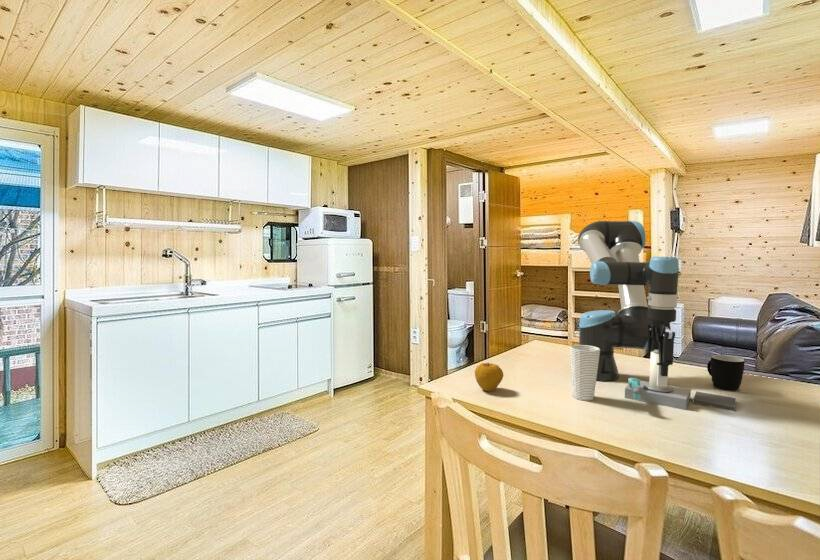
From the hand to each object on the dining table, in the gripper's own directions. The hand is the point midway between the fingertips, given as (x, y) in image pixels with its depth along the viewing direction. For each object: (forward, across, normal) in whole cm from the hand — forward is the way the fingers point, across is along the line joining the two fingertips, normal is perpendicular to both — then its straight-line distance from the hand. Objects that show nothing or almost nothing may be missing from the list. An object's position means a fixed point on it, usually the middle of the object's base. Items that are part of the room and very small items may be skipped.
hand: (658, 383), depth 134 cm
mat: (+5, +1, +16) cm, 16 cm away
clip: (+1, +7, -9) cm, 11 cm away
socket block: (+5, 0, 0) cm, 5 cm away
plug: (+5, 0, 0) cm, 5 cm away
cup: (+5, +3, -23) cm, 23 cm away
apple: (+5, 0, -51) cm, 51 cm away
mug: (+5, -16, +26) cm, 31 cm away
